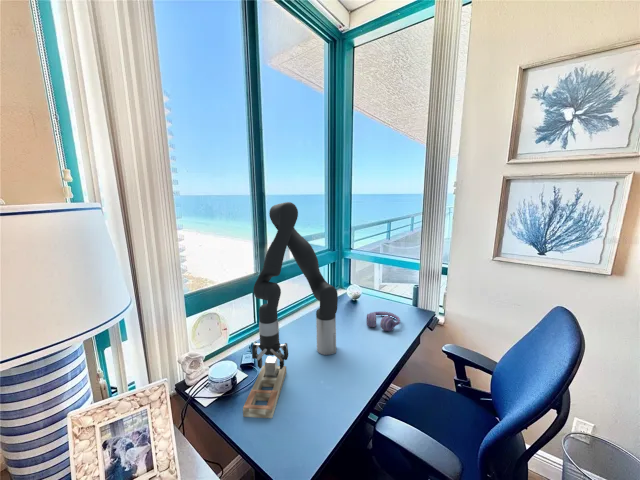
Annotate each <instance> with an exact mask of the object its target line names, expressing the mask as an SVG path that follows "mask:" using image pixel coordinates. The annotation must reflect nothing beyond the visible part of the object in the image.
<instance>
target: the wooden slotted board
mask: <svg viewBox="0 0 640 480" xmlns="http://www.w3.org/2000/svg"><path fill="white" fill-rule="evenodd" d="M286 375H287V366H286V365H284V367H283V368H282V369H280V365H278V376H277V378H267V377H266V375H265V364H262V368H260V371H259V372H258V375H257V378H256V380H255V382H254V384H253V386H252V388H251V390H250V392H249V394H248V396H247V398H246V401H245V402H244V405H243V407H242V417H244V418H257V419H258V418H259V419H260V418H262V419H273V416H274V414H275V411H276V407H277V404H278V401H279V398H280V395H281V391H282V388H283V385H284V382H285V378H286ZM267 387H268V388H272V390H271V389H269V390H266V389H263V388H267ZM257 401H262V402H267V403H266V405H265V404H263V405H260V404H256V403H257Z"/></svg>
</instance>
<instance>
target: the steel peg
mask: <svg viewBox="0 0 640 480" xmlns="http://www.w3.org/2000/svg"><path fill="white" fill-rule="evenodd" d="M264 365H265V375H266V377H267V378H277V376H278V366H279V365H278V358H276V356H273V355H267V357H266V359H265V361H264Z"/></svg>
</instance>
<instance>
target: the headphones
mask: <svg viewBox="0 0 640 480" xmlns="http://www.w3.org/2000/svg"><path fill="white" fill-rule="evenodd" d="M376 315H388V316H384V317H383V316H382V318H381V319H380V323H379V324H380V328H381V329H382V331H384V332H385V331H386V332H392V331H393V330H394V329H395V327H396V326H399V325H400V323H401V318H400V317H399V316H398V315H396V314H394V313H392V312H388V311H373V312H370V313H367V314H366V325H367V326H369V327H370V328H373V327H374V328H376V325H377V316H376ZM390 316H392V317H394V318H396V319H397V320H395V319H393V318H392V317H390Z"/></svg>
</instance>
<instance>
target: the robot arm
mask: <svg viewBox="0 0 640 480" xmlns="http://www.w3.org/2000/svg"><path fill="white" fill-rule="evenodd" d="M268 213H269V214H268V215H269V219H270V221H271V223H272V224H273V226H274V227H275V229H276V230H277V231H276V234H275V237H274V238H273V240H272V241H271V243H270V244H269V247H268V249H267V250H266V251H267V252H266V253H265V258H264V262H263V266H262V268H261V269H262V270H261V271H260V273H259V275H258V277H257V279H256V281H255V282H254V285H253V290H252V291H253V295H254V297H255V298H257V299H260V300H263V301H267V303H264V304H262V305H260V306H259V308H258V317H259V319H258V321H259V322H258V332H259V333H258V334H259V343H258V342H257V341H254V342H253V344H252V345H251V349H252V350H251V358H252V359H254V360H256V363H257V368H259V369H262V367H263V356H264V355H265V356H274V357H276V358H277V360H278V361H279V366H280V369H282V368H283V367H284V366H285V361H287V360H288V357H289V346H288V343H287V342H285V343H284V344H282V343H280V332H279V331H280V329H279V328H280V326H279V319H278V307H279V302H280V298H281V295H282V291H281V286H280V285H279V284H278V283H277V282H272V281H270V280H271V279H272V278H275V277H278V276H280V275H281V272H282V266H283V263H284V262H283V261H284V258H285V253H286V250H287V249H288V250H289V251H290V253H291V255H292V257H293V259H294V261H295V262H296V264H297V266H298V267H299V270H300V272H301V273H302V274H303V276H304V277H305V279H306V280H307V282H308V285H309V287H310V290H311V293H312V294H313V297H314V298H315V299H316V300H317V301H318V302H319V308H318V309H316V313H315V316H316V317H315V321H316V322H315V323H316V325H315V327H316V328H315V329H316V352H318V353H319V354H320V355H323V356H324V355H325V356H329V355H333V354H336V353H337V326H336V325H337V321H336V320H337V319H336V316H337V315H336V314H337V311H338V301H339V300H338V298H339V297H338V296H339V295H338V290H337V288H336V287H335V286H333V285H331V284H330V283H328V282H327V280H326V279H325V278H324V276H323V275H322V273H321V270H320V265H319V260H318V256H317V254H316V252H315V250H314V249H313V246H312V245H311V244H310V243H309V242H308V240H307V239H306V238H305V237H303V236H302V235H301V234H300V233H299V232H298V231H297V229H295V226H296V224H297V223H296V222H297V221H298V217H299V210H298V208H297V206H296V204H295V203H293V202H290V201H285V202H280V203H277V204H274V205H272V206H271V207H270V209H269V212H268ZM258 349H260V350H261V351H260V352H259V353H258ZM282 351H283V352H282Z"/></svg>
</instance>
